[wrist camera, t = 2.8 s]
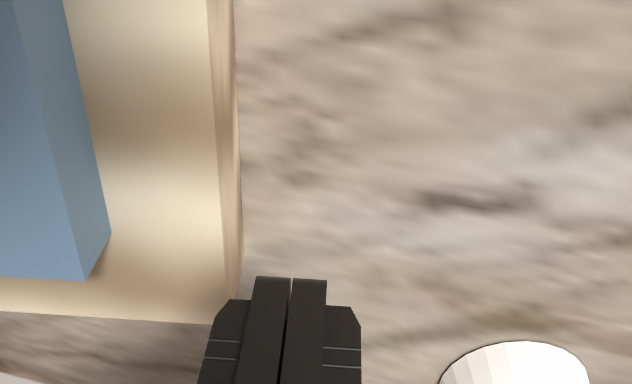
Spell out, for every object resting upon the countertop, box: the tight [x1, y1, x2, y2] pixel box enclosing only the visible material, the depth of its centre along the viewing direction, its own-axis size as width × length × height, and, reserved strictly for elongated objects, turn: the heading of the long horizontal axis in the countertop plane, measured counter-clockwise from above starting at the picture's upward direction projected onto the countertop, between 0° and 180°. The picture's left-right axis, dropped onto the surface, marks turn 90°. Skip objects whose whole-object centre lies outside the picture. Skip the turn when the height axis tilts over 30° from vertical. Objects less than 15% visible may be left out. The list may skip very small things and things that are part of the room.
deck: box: [0, 0, 244, 325], centre depth 20 cm, size 18×12×4 cm, turn 178°
